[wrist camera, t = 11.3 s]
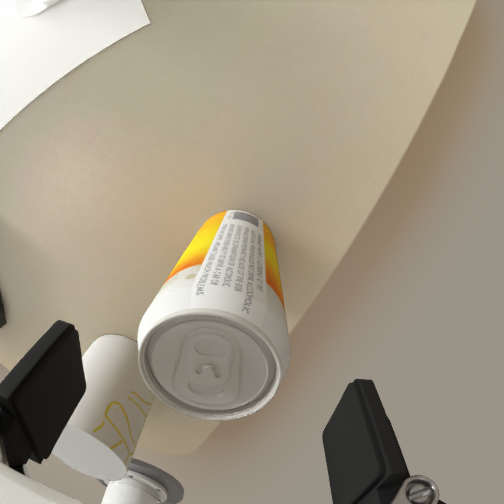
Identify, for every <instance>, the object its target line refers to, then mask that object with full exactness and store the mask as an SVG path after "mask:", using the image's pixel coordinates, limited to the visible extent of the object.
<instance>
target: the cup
mask: <svg viewBox="0 0 504 504" xmlns="http://www.w3.org/2000/svg"><path fill="white" fill-rule="evenodd" d="M138 354H139V350H138V343H137V342H135V341H134V340H132V339H129V338H127V337H124V336H120V335H104V336H101V337H99V338H97V339H96V340H95V341H94V342H93V343H92V345H91V346H90V347H89V349H88V350H87V351H86V353H85V354H84V356H83V357H82V362H83V368H84V374H85V380H86V391H85V394H84V395H83V397H82V399H81V400H80V402H79V404H78V406H77V407H76V409H75V411H74V412H73V414H72V416H71V418H70V419H69V421H68V423H67V425H66V426H65V428H64V430H63V432H62V434H61V435H60V437H59V439H58V441H57V443H56V444H55V446H54V448H53V450H52V453H53V454H54V455H55V456H56V457H57V458H59V459H60V460H61V461H63V462H64V463H66V464H67V465H69V466H70V467H72V468H74V469H75V470H77V471H79V472H81V473H83V474H86V475H88V476H91V477H94V478H97V479H101V480H108V481H117V480H121V479H123V478H124V477H125V476H126V474H127V471H128V468H129V465H130V462H131V459H132V456H133V454H134V451H135V448H136V445H137V442H138V439H139V437H140V434H141V431H142V428H143V425H144V423H145V420H146V417H147V414H148V412H149V409H150V406H151V403H152V401H153V398H154V395H155V394H154V393H153V392H152V391H151V390H150V389H149V387H148V386H147V384H146V383H145V381H144V379H143V377H142V375H141V372H140V369H139V363H138Z"/></svg>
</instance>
